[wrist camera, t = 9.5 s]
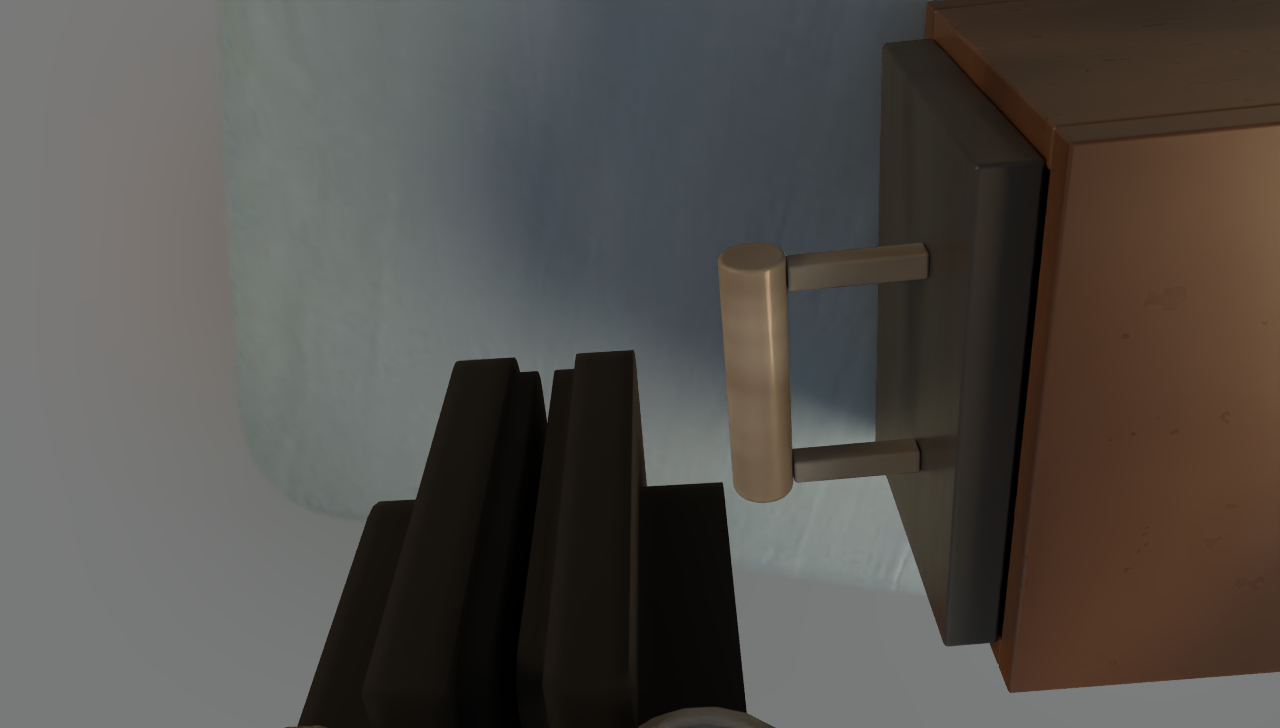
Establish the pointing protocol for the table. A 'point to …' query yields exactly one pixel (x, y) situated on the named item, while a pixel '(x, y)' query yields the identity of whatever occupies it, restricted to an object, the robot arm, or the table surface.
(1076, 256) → the cabinet
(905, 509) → the drawer
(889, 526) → the table surface
